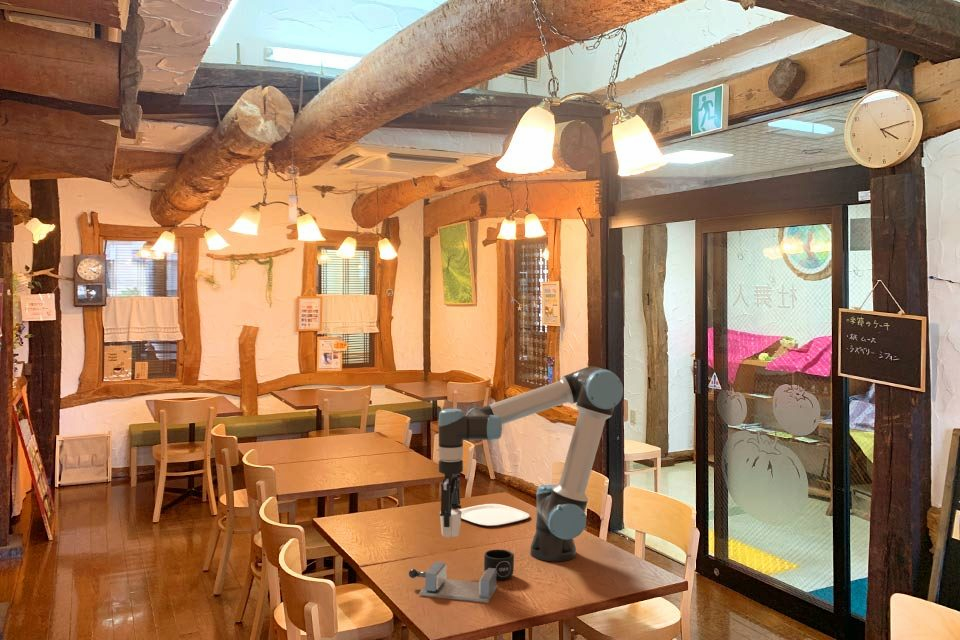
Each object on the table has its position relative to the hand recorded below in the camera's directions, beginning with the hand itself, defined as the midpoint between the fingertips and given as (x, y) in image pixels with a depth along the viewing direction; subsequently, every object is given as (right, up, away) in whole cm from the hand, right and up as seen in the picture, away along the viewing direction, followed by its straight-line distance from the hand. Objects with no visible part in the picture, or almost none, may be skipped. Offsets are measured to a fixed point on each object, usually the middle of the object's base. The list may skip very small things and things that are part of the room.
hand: (450, 533), depth 242 cm
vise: (+3, -13, -16) cm, 21 cm away
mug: (+14, -13, -2) cm, 19 cm away
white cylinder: (0, -1, 0) cm, 1 cm away
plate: (+14, -11, +61) cm, 63 cm away
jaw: (-7, -11, -14) cm, 19 cm away
